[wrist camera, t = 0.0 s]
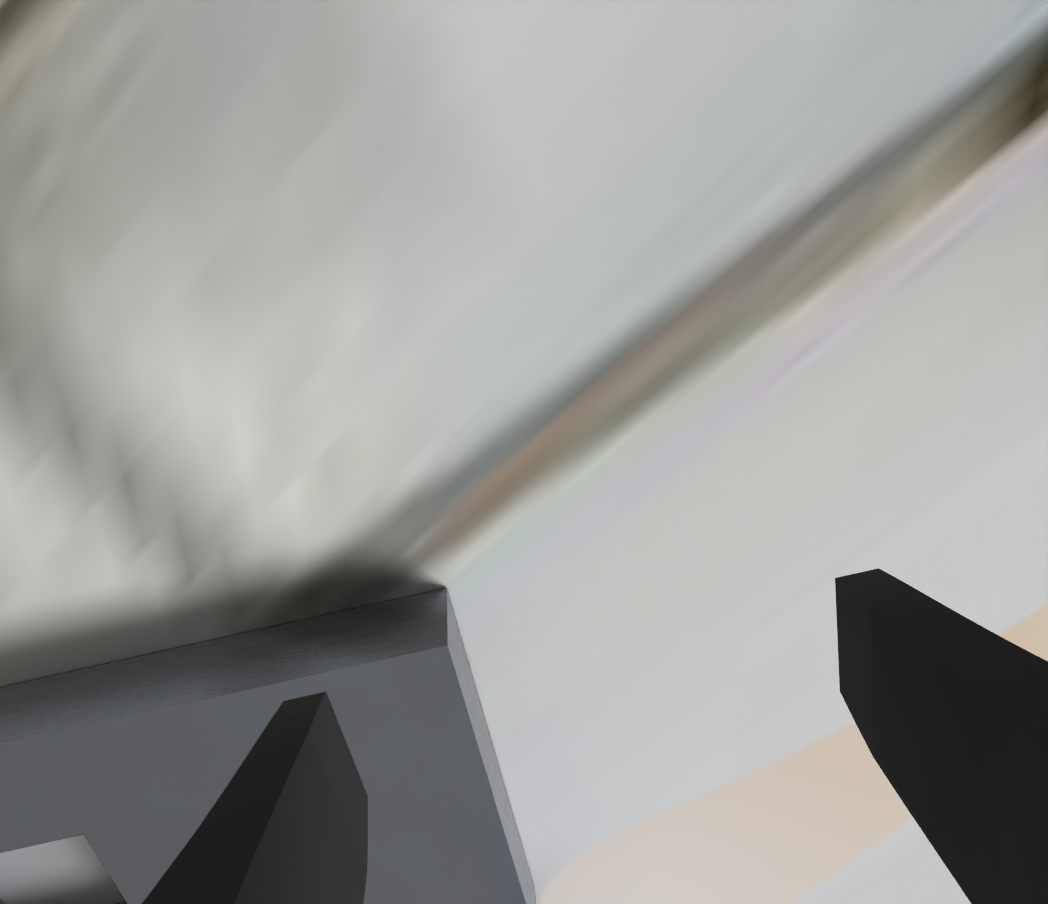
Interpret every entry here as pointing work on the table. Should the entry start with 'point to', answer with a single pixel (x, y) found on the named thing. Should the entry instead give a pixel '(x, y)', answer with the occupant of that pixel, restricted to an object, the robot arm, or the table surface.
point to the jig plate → (234, 727)
